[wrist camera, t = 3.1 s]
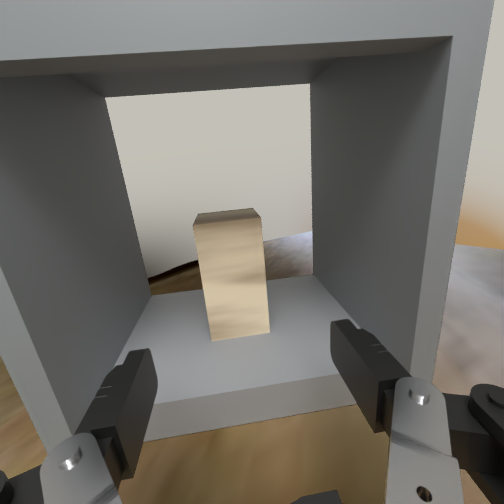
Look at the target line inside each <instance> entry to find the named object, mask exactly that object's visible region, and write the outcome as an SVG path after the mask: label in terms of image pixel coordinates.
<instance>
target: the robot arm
mask: <svg viewBox="0 0 504 504" xmlns="http://www.w3.org/2000/svg"><path fill="white" fill-rule="evenodd" d="M330 353H331V357H332V361H333V363H334V365H335V367H336V368H337V370H338V372H339V373H340V375H341V377H342V379H343V380H344V382H345V384H346V385H347V387H348V389H349V391H350V392H351V394H352V396H353V397H354V399H355V401H356V403H357V404H358V406H359V408H360V409H361V411H362V413H363V415H364V416H365V418H366V420H367V421H368V423H369V425H370V426H371V428H372V430H373V432H374V433H379V432H384V431H385V432H386V433H387V435H388V436H389V438H390V439H389V450H388V461H387V472H386V483H385V494H384V504H464V499H463V492H462V484H461V477H460V470H459V469H464V470H466V471H467V472H468V474H469V475H470V476H471V478H472V479H473V480H474V482H475V483H476V484H477V486H478V487H479V488H480V490H481V491H482V492H483V494H484V495H485V496H486V498H487V499H488V500H489V502H490V503H491V504H504V388H501V387H498V386H495V385H490V384H478V385H475V386H473V387H472V389H471V393H470V396H465V395H456V394H446V393H441V391H440V390H439V389H438V388H437V387H435V386H434V385H433V384H431V383H429V382H427V381H425V380H423V379H420V378H416V377H412V376H411V375H410V374H409V373H408V372H407V370H406V369H405V368H404V367H403V366H402V365H401V364H400V363H399V362H398V361H397V360H396V359H395V357H394V356H393V355H392V354H391V353H390V352H388V351H387V349H386V348H385V347H384V346H383V344H382V345H381V342H380V341H379V340H378V339H377V338H376V337H375V336H374V335H373V334H371V333H370V332H368V331H366V330H365V329H363V328H361V329H357V328H356V327H355V325H354V324H353V323H352V322H351V321H350V320H349V319H343V320H336V321H331V324H330ZM157 389H158V378H157V374H156V370H155V366H154V362H153V358H152V354H151V351H150V349H149V348H145V349H138V350H132V351H129V352H128V354H127V356H126V358H125V360H124V362H123V364H122V365H116V366H115V367H114V368H113V369H112V370H111V371H110V372H109V373H108V374H107V375H106V377H105V379H104V380H103V382H102V384H101V386H100V389H99V390H98V391H97V393H96V395H95V399H93V401H92V402H91V404H90V406H89V408H88V410H87V412H86V413H85V415H84V417H83V419H82V421H81V423H80V424H79V426H78V428H77V430H76V432H75V434H74V435H73V436H71V437H69V438H67V439H65V440H64V441H62V442H61V443H60V444H58V445H57V446H56V447H55V448H54V449H53V450H52V451H51V452H50V453H49V454H48V456H47V457H46V458H45V460H44V462H43V463H42V464H41V465H39V466H37V467H35V468H33V469H31V470H28V471H26V472H24V473H22V474H20V475H17V476H15V477H13V478H11V479H8V478H7V477H6V475H5V473H4V472H3V471H1V470H0V504H122V502H121V499H120V497H119V494H118V492H117V491H118V488H119V485H120V482H121V480H125V479H130V478H133V477H134V473H135V470H136V466H137V463H138V459H139V455H140V452H141V448H142V445H143V441H144V437H145V434H146V430H147V427H148V423H149V419H150V416H151V412H152V409H153V405H154V401H155V398H156V394H157ZM291 504H342V503H341V500H340V497H339V495H338V492H337V490H333V491H328V492H323V493H318V494H313V495H309V496H304V497H301V498H299V499H298V500H296V501H294V502H292V503H291Z"/></svg>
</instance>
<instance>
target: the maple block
mask: <svg viewBox="0 0 504 504" xmlns="http://www.w3.org/2000/svg"><path fill="white" fill-rule="evenodd" d="M193 230H194V236H195V242H196V248H197V254H198V261H199V267H200V273H201V279H202V285H203V291H204V297H205V303H206V310H207V316H208V322H209V328H210V334H211V340H212V341H218V340H224V339H231V338H238V337H244V336H251V335H258V334H264V333H270V325H269V312H268V300H267V287H266V274H265V262H264V249H263V237H262V224H261V217H260V216H259V215H258V214H257V212H256V211H255V210H254V209H253V208H248V209H239V210H229V211H220V212H211V213H202V214H198V215H197V217H196V219H195V221H194V224H193Z"/></svg>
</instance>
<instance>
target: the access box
mask: <svg viewBox="0 0 504 504" xmlns="http://www.w3.org/2000/svg"><path fill="white" fill-rule="evenodd" d="M493 5H494V0H0V355H1V357H2V359H3V361H4V363H5V366H6V368H7V370H8V372H9V374H10V376H11V378H12V380H13V382H14V384H15V386H16V389H17V391H18V393H19V395H20V397H21V399H22V401H23V403H24V405H25V407H26V409H27V412H28V414H29V416H30V418H31V420H32V422H33V424H34V426H35V428H36V430H37V433H38V435H39V437H40V439H41V441H42V443H43V445H44V447H45V449H46V451H47V453H48V454H49V453H50V452H51V451H52V450H53V449H54V448H55V447H56V446H57V445H58V444H60V443H61V442H62V441H64V440H65V439H67V438H69V437H71V436H73V435H74V434H75V432H76V430H77V428H78V426H79V424H80V423H81V421H82V419H83V417H84V415H85V413H86V412H87V410H88V408H89V406H90V404H91V402H92V401H93V399H95V395H96V393H97V391H98V390H99V389H100V386H101V384H102V382H103V380H104V379H105V377H106V375H107V374H108V373H109V372H110V371H111V370H112V369H113V368H114V367H115V366H116V365H122V364H123V362H124V360H125V358H126V356H127V354H128V352H129V351H132V350H138V349H145V348H149V349H150V351H151V354H152V358H153V362H154V366H155V370H156V374H157V378H158V389H157V394H156V398H155V401H154V405H153V409H152V412H151V416H150V419H149V423H148V427H147V430H146V434H145V437H144V441H143V442H146V441H152V440H158V439H163V438H169V437H174V436H180V435H186V434H191V433H197V432H203V431H208V430H214V429H219V428H225V427H231V426H236V425H242V424H247V423H253V422H259V421H264V420H270V419H276V418H281V417H287V416H292V415H298V414H304V413H309V412H315V411H320V410H326V409H332V408H337V407H343V406H348V405H354V404H357V403H356V401H355V399H354V397H353V396H352V394H351V392H350V391H349V389H348V387H347V385H346V384H345V382H344V380H343V379H342V377H341V375H340V373H339V372H338V370H337V368H336V367H335V365H334V363H333V361H332V357H331V353H330V324H331V321H336V320H343V319H349V320H350V321H351V322H352V323H353V324H354V325H355V327H356V328H357V329H361V328H363V329H365V330H366V331H368V332H370V333H371V334H373V335H374V336H375V337H376V338H377V339H378V340H379V341H380V342H381V345H382V344H383V346H384V347H385V348H386V349H387V351H388V352H390V353H391V354H392V355H393V356H394V357H395V359H396V360H397V361H398V362H399V363H400V364H401V365H402V366H403V367H404V368H405V369H406V370H407V372H408V373H409V374H410V375H411V376H412V377H416V378H420V379H423V380H425V381H427V382H429V383H431V384H432V379H433V373H434V367H435V361H436V355H437V349H438V343H439V336H440V330H441V324H442V318H443V312H444V306H445V300H446V293H447V287H448V281H449V275H450V269H451V263H452V257H453V250H454V244H455V237H456V232H457V226H458V219H459V213H460V207H461V201H462V195H463V189H464V183H465V177H466V171H467V164H468V158H469V151H470V146H471V140H472V134H473V128H474V122H475V115H476V109H477V103H478V97H479V91H480V85H481V78H482V72H483V66H484V60H485V54H486V48H487V42H488V35H489V29H490V23H491V17H492V10H493ZM307 83H308V84H309V83H310V103H311V105H310V106H311V165H312V228H313V274H312V275H305V276H297V277H289V278H282V279H274V280H267V281H266V287H267V300H268V312H269V325H270V333H264V334H258V335H251V336H244V337H238V338H231V339H224V340H218V341H212V340H211V334H210V328H209V322H208V316H207V310H206V303H205V297H204V291H203V289H199V290H191V291H184V292H176V293H169V294H161V295H153V296H151V292H150V287H149V283H148V279H147V275H146V270H145V266H144V262H143V258H142V253H141V249H140V245H139V241H138V237H137V232H136V228H135V224H134V220H133V215H132V211H131V207H130V202H129V198H128V194H127V190H126V185H125V181H124V177H123V173H122V169H121V164H120V160H119V156H118V152H117V147H116V143H115V139H114V135H113V131H112V126H111V122H110V118H109V114H108V109H107V105H106V101H105V97H119V96H134V95H148V94H163V93H177V92H191V91H207V90H220V89H235V88H249V87H264V86H279V85H294V84H307Z"/></svg>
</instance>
